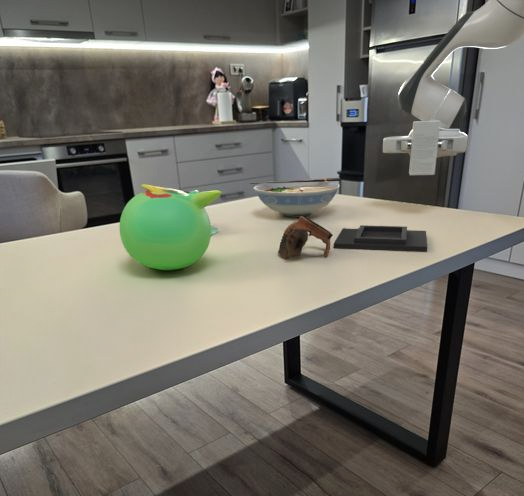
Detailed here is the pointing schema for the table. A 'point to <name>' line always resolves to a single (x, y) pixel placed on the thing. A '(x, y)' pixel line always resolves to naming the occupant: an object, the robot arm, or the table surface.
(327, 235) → the brown arched part
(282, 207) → the ramen bowl
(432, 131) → the cosmetic box
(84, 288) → the table surface
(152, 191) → the toy bird
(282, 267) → the table surface
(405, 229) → the dock pad
